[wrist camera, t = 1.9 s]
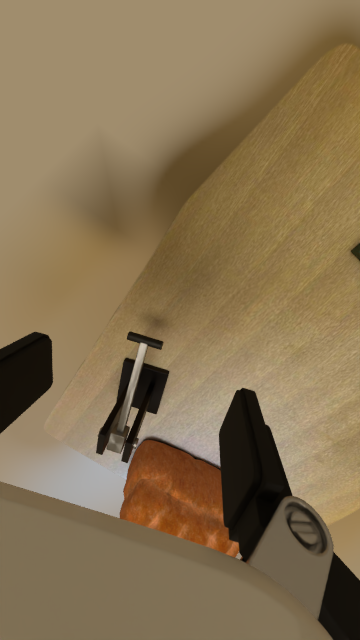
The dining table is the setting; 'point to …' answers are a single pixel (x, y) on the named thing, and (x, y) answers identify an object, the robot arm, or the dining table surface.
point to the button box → (356, 251)
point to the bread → (176, 496)
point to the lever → (131, 391)
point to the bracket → (134, 403)
